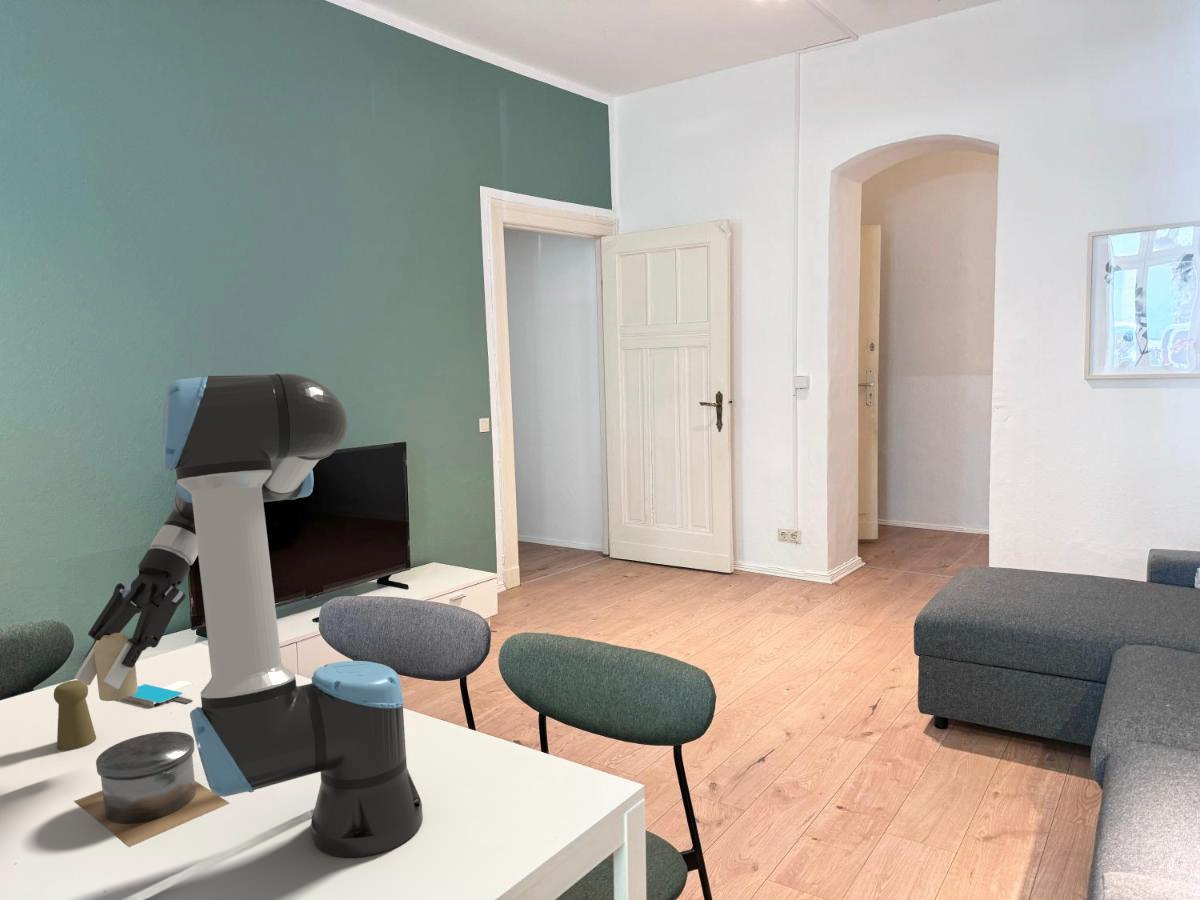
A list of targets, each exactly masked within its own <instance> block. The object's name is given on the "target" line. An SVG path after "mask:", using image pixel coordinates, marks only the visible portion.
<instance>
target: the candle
mask: <svg viewBox="0 0 1200 900" xmlns="http://www.w3.org/2000/svg"><path fill="white" fill-rule="evenodd" d="M128 639H130V637H129V636H127V635H126V634H125V633H123V632H120V633H113V634H111V635H104V636H103V637H102V638H101V639H100V641H99V642H98V643H97V644H96V645H95V646H94V655H95V664H96V673H97V674H96V680H97V681H96V683H97V688H98V697H99V700H101V701H104V702H114V701H121V700H122V699H124V698H128V697H130V696H132V695H134V694H136V693H137V691H138V680H137V679H138V678H137V667H136V664H135V665H134V666H133V667H132V668H130V670H129V672H128V674H127V675H126V677H125V679H124V681H123V682H122V684H121V686H120V688H119V689H115V688H113V687H112V686H110V685H109V684H107V683H105V682H104V679H105V678H106V676H107V674H108V672H109V671H110V669H111V667H112V666H113V664H114V662H115V660H116V659H117V657H118V655H119V654H120V652H121V650H122V648H123V647H124V645H125V643H129V644H131V645H132V643H130V642H129V641H128Z"/></svg>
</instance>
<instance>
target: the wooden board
mask: <svg viewBox="0 0 1200 900" xmlns="http://www.w3.org/2000/svg"><path fill="white" fill-rule="evenodd" d="M195 789H196V794H195V796H194V798H193V799H192V801H191V802H190V803H188V804H187V805H186V806H185V807H183V808H182V809H180V810H178V811H176V812H174V813H172V814H170V815H168V816H165V817H162V818H159V819H156V820H152V821H148V822H143V823H136V824H118V823H114V822H111V821H109V820H108V819H107V818H106V816H105V810H104V801H103V792H102V790H99V791H97V792H94V793H91V794H90V795H86V796H84V797H81V798H78V799H75V800H74V801H73V802H75V804H77V805H78V806H79V807H80V808H81V809H83V810H84V811H85V812H86V813H88V814H89V815H90V816H91V817H92V818H93V819H95V820H96V821H97V822H98V823H100V824H101V825H102V826H103V827H105V829H107V830H108V831H109V832H111V833H112V835H114V836H116V838H118V839H119V840H120V841H121V842H123V843H124V844H125V845H126V846H127V847H128V848H131V847H133V846H135V845H137V844H140V843H142V842H145V841H146V840H148V839H151V838H153V837H156V836H158V835H160V834H163V833H165V832H168V831H170V830H172V829H174V828H176V827H178V826H181V825H183V824H186V823H188V822H190V821H192V820H195V819H197V818H200V817H202V816H204V815H206V814H209V813H210V812H213V811H216V810H218V809H220V808H223V807H224V806H227V805H229V804H230V802H229V801H227V800H226V799H225V798H223V797H221V796H217V795H215V794H214V793H213V792H212V791H211V789H210V788H207V787H206V786H204V785H202V784H201V783H199V782H197V781H196V780H195Z"/></svg>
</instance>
